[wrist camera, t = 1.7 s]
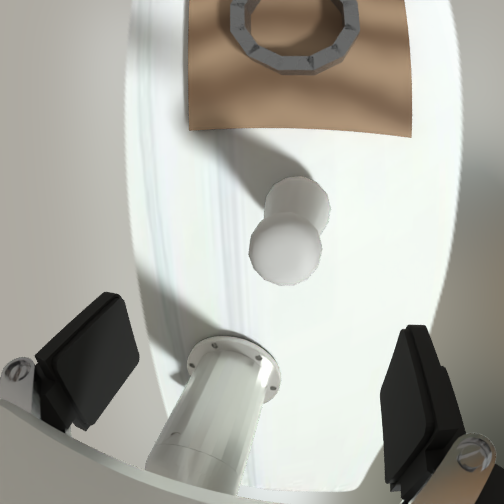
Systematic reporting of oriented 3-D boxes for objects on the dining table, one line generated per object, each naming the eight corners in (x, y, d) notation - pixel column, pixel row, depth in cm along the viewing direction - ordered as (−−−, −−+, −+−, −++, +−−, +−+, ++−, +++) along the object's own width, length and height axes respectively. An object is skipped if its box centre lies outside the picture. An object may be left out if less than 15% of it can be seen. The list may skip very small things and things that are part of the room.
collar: (358, 78, 22) (362, 73, 20) (238, 76, 24) (230, 72, 22) (351, -20, 18) (353, -32, 16) (237, -19, 20) (230, -29, 18)
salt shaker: (261, 182, 29) (217, 221, 17) (319, 165, 27) (318, 192, 15) (279, 238, 31) (251, 310, 19) (336, 224, 29) (344, 291, 17)
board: (406, 137, 24) (411, 137, 23) (195, 130, 28) (189, 130, 27) (392, -42, 16) (394, -48, 15) (196, -38, 20) (191, -44, 19)
